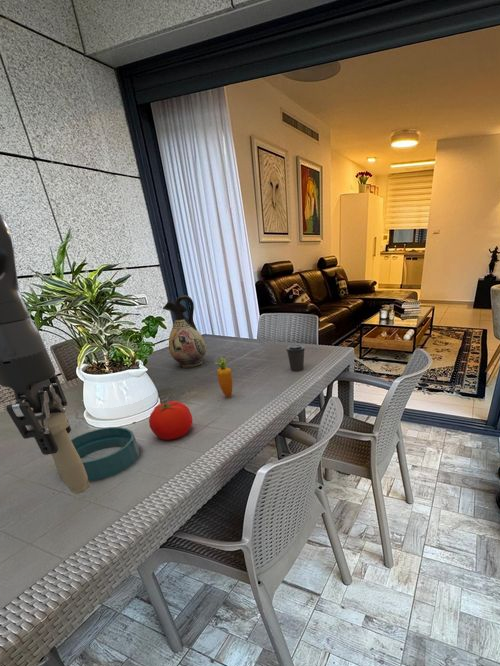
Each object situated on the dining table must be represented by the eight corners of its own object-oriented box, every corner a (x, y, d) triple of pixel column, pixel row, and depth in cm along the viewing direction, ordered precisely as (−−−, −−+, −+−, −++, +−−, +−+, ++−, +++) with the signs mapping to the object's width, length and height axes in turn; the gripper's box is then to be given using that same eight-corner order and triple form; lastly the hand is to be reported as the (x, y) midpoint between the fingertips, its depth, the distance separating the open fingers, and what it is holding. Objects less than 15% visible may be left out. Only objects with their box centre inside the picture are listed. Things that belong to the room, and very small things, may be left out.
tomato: (176, 422, 111) (168, 392, 106) (203, 430, 106) (197, 399, 101) (144, 440, 101) (134, 408, 96) (172, 449, 97) (163, 416, 92)
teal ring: (55, 490, 83) (45, 469, 80) (77, 452, 97) (69, 433, 94) (134, 475, 87) (127, 455, 84) (144, 441, 101) (138, 422, 98)
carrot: (232, 402, 123) (225, 360, 115) (219, 401, 123) (211, 360, 116) (238, 396, 127) (231, 356, 120) (225, 395, 128) (217, 355, 120)
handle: (95, 476, 71) (67, 410, 64) (95, 494, 66) (64, 424, 59) (67, 484, 69) (35, 416, 62) (64, 503, 64) (29, 432, 57)
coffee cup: (299, 373, 145) (297, 349, 140) (283, 370, 149) (281, 347, 144) (310, 367, 151) (309, 344, 146) (294, 364, 155) (293, 342, 150)
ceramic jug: (171, 372, 152) (153, 299, 137) (175, 361, 165) (159, 293, 150) (211, 367, 155) (198, 296, 140) (212, 357, 168) (200, 291, 154)
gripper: (8, 341, 59) (49, 427, 67) (-41, 368, 47) (15, 469, 55) (59, 336, 61) (92, 421, 69) (24, 361, 49) (69, 460, 57)
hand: (58, 442), depth 62 cm, fingers closed on handle, 6 cm apart
